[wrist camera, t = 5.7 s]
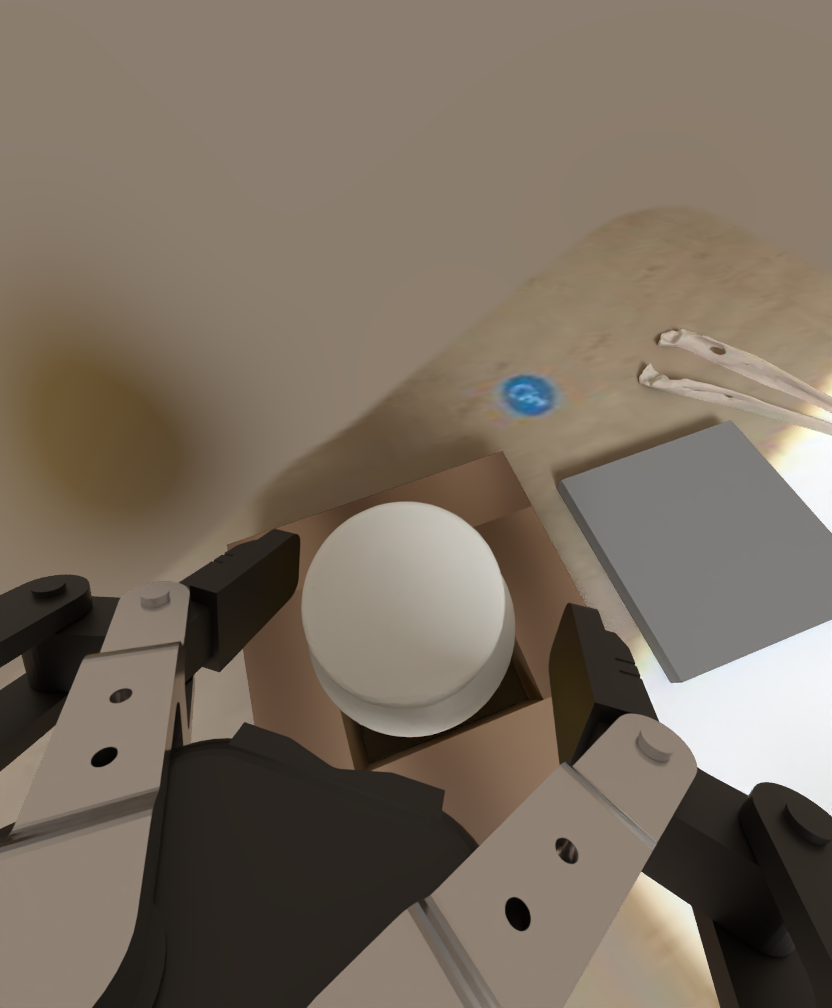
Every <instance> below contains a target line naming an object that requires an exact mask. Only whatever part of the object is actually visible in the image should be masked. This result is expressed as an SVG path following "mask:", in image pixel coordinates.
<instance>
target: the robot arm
mask: <svg viewBox="0 0 832 1008" xmlns="http://www.w3.org/2000/svg"><path fill="white" fill-rule="evenodd" d="M299 563H300V537H299V535H298V534H295V533H291V532H287V531H282V530H278V529H273V530H271V531H269V532H268V533H266V534H265V535H263V536H262V537H260V538H259V539H257V540H252V541H248V542H245V543H242V544H239V545H237V546H235V547H233V548H232V549H230V550H229V551H227V552H226V553H225V554H224V555H221V556H219V557H218V558H216V559H215V560H214V562H210V563H209V564H207V565H206V566H204V567H202V568H201V569H199V570H198V571H196V572H195V573H193V574H192V575H190V576H188V577H187V578H185V579H184V580H182V581H181V582H179V583H177V582H171V581H159V582H152V583H147V584H144V585H141V586H138V587H136V588H133V589H132V590H130V591H128V592H127V593H125V594H124V595H123V596H122V597H121V598H114V597H94V596H91V591H90V585H89V582H88V580H87V579H85V578H84V577H81V576H76V575H55V576H48V577H43V578H40V579H36V580H33V581H30V582H27V583H25V584H23V585H21V586H19V587H17V588H15V589H12V590H10V591H8V592H6V593H4V594H2V595H0V667H2V666H4V665H5V664H7V663H9V662H10V661H12V660H13V659H15V658H16V657H18V656H20V655H22V659H23V663H24V666H25V670H26V673H25V674H24V675H22V676H21V677H19V678H18V679H16V680H15V681H13V682H12V683H10V684H9V685H7V686H6V687H4V688H3V689H1V690H0V771H1V770H3V769H4V768H5V767H6V766H7V765H9V764H10V763H11V762H12V761H13V760H15V759H16V758H17V757H18V756H19V755H21V754H22V753H23V752H24V751H25V750H27V749H28V748H29V747H30V746H31V745H32V744H34V743H35V742H36V741H37V740H38V739H40V738H41V737H42V736H43V735H44V734H46V733H47V732H48V731H49V730H50V729H52V728H53V727H54V726H55V725H56V726H55V728H54V731H53V733H52V736H51V738H50V741H49V743H48V745H47V748H46V750H45V753H44V755H43V758H42V760H41V762H40V765H39V767H38V770H37V772H36V775H35V777H34V779H33V782H32V784H31V787H30V789H29V792H28V794H27V796H26V799H25V801H24V804H23V806H22V809H21V811H20V813H19V816H18V818H17V821H16V822H14V823H12V824H10V825H8V826H6V827H3V828H1V829H0V1008H563V1007H564V1005H565V1004H566V1002H567V1000H568V998H569V997H570V995H571V993H572V991H573V990H574V988H575V986H576V984H577V983H578V981H579V979H580V977H581V976H582V974H583V972H584V970H585V969H586V967H587V965H588V963H589V962H590V960H591V958H592V956H593V955H594V953H595V951H596V949H597V948H598V946H599V944H600V942H601V941H602V939H603V937H604V935H605V934H606V932H607V930H608V928H609V927H610V925H611V923H612V921H613V920H614V918H615V916H616V914H617V913H618V911H619V909H620V907H621V906H622V904H623V902H624V900H625V899H626V897H627V895H628V893H629V892H630V890H631V888H632V886H633V885H634V883H635V881H636V879H637V878H638V876H639V874H640V872H643V873H644V874H646V875H647V876H649V877H650V878H652V879H653V880H654V881H656V882H657V883H659V884H660V885H662V886H663V887H665V888H666V889H668V890H669V891H671V892H672V893H674V894H675V895H677V896H678V897H680V898H681V899H682V900H684V901H685V902H687V903H688V904H690V905H691V906H692V909H693V912H694V916H695V920H696V923H697V927H698V930H699V934H700V937H701V941H702V944H703V948H704V951H705V955H706V958H707V962H708V965H709V969H710V973H711V976H712V980H713V983H714V987H715V990H716V994H717V997H718V1001H719V1004H720V1008H832V817H831V816H830V815H829V814H828V813H827V812H826V811H824V810H823V809H822V808H821V807H819V806H818V805H817V804H815V803H814V802H812V801H811V800H809V799H808V798H806V797H805V796H803V795H801V794H800V793H798V792H796V791H794V790H792V789H790V788H787V787H785V786H782V785H779V784H775V783H769V782H764V783H759V784H757V785H756V786H755V787H754V788H753V790H752V791H751V793H750V794H749V796H748V795H746V794H744V793H742V792H741V791H739V790H737V789H735V788H733V787H731V786H729V785H728V784H726V783H724V782H722V781H720V780H718V779H716V778H714V777H713V776H711V775H709V774H707V773H706V772H704V771H702V770H701V769H699V768H698V767H697V764H696V760H695V758H694V755H693V754H692V752H691V750H690V749H689V747H688V746H687V745H686V744H685V742H684V741H683V740H682V739H681V738H680V737H679V736H678V735H677V734H675V733H674V732H673V731H672V730H670V729H669V728H668V727H666V726H665V725H663V724H662V723H660V722H659V720H658V718H657V715H656V713H655V710H654V708H653V706H652V703H651V701H650V698H649V696H648V693H647V691H646V688H645V686H644V684H643V681H642V679H640V674H639V671H638V669H637V667H636V666H635V662H634V659H633V657H632V654H631V652H630V649H629V648H628V646H627V645H626V644H625V643H624V642H623V641H622V640H621V639H620V638H619V637H618V635H617V634H616V633H613V632H610V631H606V630H605V629H604V626H603V623H602V620H601V617H600V614H599V612H598V610H597V609H593V608H589V607H585V606H581V605H577V604H573V603H567V605H566V607H565V609H564V612H563V615H562V618H561V621H560V624H559V627H558V630H557V633H556V636H555V638H554V641H553V644H552V648H551V651H550V657H549V679H550V687H551V696H552V705H553V713H554V722H555V731H556V739H557V748H558V757H559V767H558V768H557V769H556V770H555V771H554V772H553V773H552V774H551V775H550V776H549V777H548V778H547V779H546V780H545V781H544V782H543V783H542V784H541V785H540V786H539V787H538V788H537V789H536V790H535V791H534V792H533V793H532V794H531V795H530V796H529V797H528V798H527V799H526V800H525V801H524V802H523V803H522V804H521V805H520V806H519V807H518V808H517V809H516V810H515V811H514V812H513V813H512V814H511V815H510V816H509V817H508V818H507V819H506V820H505V821H504V822H503V823H502V824H501V825H500V826H499V827H498V828H497V829H496V830H495V831H494V832H493V833H492V834H491V835H490V836H489V837H488V838H487V839H486V840H485V841H484V842H483V843H482V844H481V845H480V846H479V844H478V843H477V842H476V840H475V839H474V838H473V837H472V836H471V835H470V834H469V832H468V831H467V830H466V829H465V828H464V827H463V826H462V825H461V824H459V823H458V822H457V821H456V820H455V819H454V818H452V817H451V816H450V815H448V814H447V813H445V812H444V811H443V810H442V807H443V801H444V795H445V790H443V789H440V788H437V787H434V786H431V785H428V784H425V783H422V782H419V781H416V780H413V779H410V778H407V777H404V776H401V775H399V774H396V773H393V772H379V771H365V770H351V769H339V768H335V767H332V766H331V765H329V764H328V763H326V762H325V761H323V760H322V759H320V758H319V757H317V756H316V755H315V754H313V753H312V752H310V751H309V750H307V749H306V748H305V747H303V746H302V745H300V744H299V743H297V742H296V741H294V740H293V739H292V738H290V737H287V736H284V735H281V734H278V733H275V732H272V731H269V730H266V729H263V728H260V727H257V726H254V725H251V724H248V723H245V722H244V724H243V725H242V726H241V728H240V729H239V730H238V732H237V733H236V734H235V735H234V737H233V738H232V739H231V738H225V739H211V740H205V741H199V742H195V743H191V732H192V719H193V705H194V692H195V673H196V672H197V671H198V670H199V669H200V668H201V667H205V668H208V669H211V670H214V671H217V672H221V670H222V669H223V668H224V667H225V666H226V665H227V664H228V663H229V662H230V661H231V660H232V659H233V658H234V657H235V656H236V655H237V654H238V653H239V652H240V651H241V650H242V649H243V648H244V647H245V646H246V644H247V643H248V642H249V641H250V640H251V639H252V638H253V637H254V636H255V635H256V634H257V633H258V632H259V631H260V630H261V629H262V628H263V627H264V626H265V625H266V624H267V623H268V622H269V621H270V620H271V619H272V617H273V616H274V615H275V614H276V613H277V612H278V611H279V610H280V609H281V608H282V607H283V606H284V605H285V604H286V603H287V602H288V601H289V600H290V599H291V598H292V596H293V594H294V593H295V590H296V588H297V585H298V580H299Z"/></svg>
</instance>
